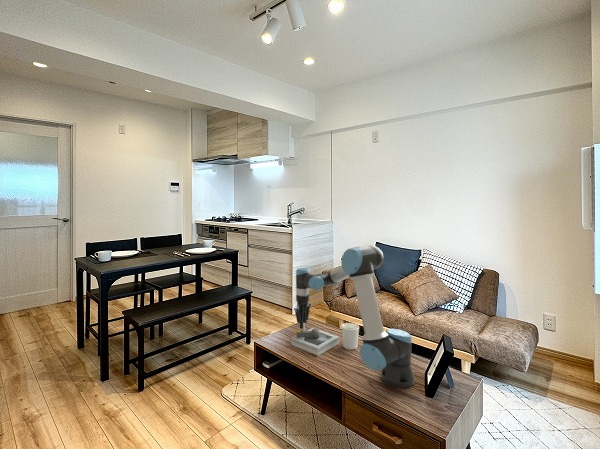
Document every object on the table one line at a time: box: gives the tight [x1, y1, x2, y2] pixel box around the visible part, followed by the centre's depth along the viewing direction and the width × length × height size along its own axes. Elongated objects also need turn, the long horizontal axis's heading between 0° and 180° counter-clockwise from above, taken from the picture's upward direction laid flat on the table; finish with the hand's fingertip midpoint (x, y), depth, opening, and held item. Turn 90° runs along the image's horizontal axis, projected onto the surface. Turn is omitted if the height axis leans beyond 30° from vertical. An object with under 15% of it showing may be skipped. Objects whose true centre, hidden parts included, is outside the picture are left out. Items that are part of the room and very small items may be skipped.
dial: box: [296, 328, 326, 345], centre depth 187 cm, size 18×13×6 cm
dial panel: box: [290, 327, 340, 356], centre depth 187 cm, size 20×20×4 cm
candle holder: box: [341, 322, 360, 350], centre depth 184 cm, size 10×10×12 cm
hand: (302, 333), depth 190 cm, fingers closed
